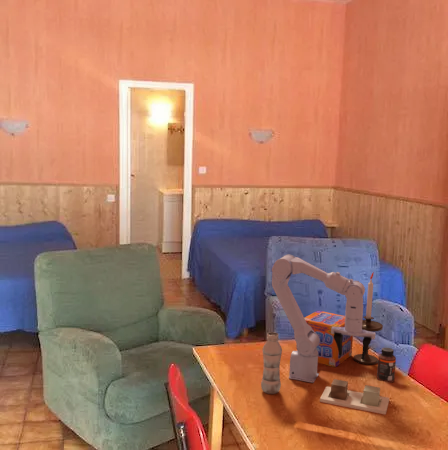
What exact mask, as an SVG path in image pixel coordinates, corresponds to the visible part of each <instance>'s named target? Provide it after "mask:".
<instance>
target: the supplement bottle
mask: <svg viewBox="0 0 448 450" xmlns="http://www.w3.org/2000/svg"><path fill="white" fill-rule="evenodd" d="M377 358H378V363H377V373H376V378H377V380H378V381H380V382H385V383H393V382H394V381H395V378H396V377H395V375H396V363H397V358H396V355H394V349H393V348H391V347H382V348H381V353H379V355H378V357H377Z"/></svg>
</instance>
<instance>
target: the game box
mask: <svg viewBox="0 0 448 450" xmlns="http://www.w3.org/2000/svg"><path fill="white" fill-rule="evenodd" d="M304 318H305V320H306V323H307V324H308V325H309V326H311V328H312V330H313V331H314V332H315V333H316V334H317V335H318V336H319V338H320V343H319V345H318V346H317V347H316V348H317V351H318V364H321V365H326V366H330V367H333V368H336V367H338V366H339V365H341V364H342V363H344V361H346V360H347V359H349V358H350V357H352V355H353V337H354V336H350V335H343V340H342V355H341V356H340V355H339V351H338V347H337V344H336V342H335V339H334V334H331V328H332V327H345V315H341V314H336V313H332V312H327V311H322V310H316V311H314V312H312V313H311V314H309V315H306V316H305V317H304Z"/></svg>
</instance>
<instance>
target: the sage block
mask: <svg viewBox="0 0 448 450" xmlns="http://www.w3.org/2000/svg"><path fill="white" fill-rule="evenodd" d="M362 393H363V404H366V405H371V406H376V407H378V405H379V397H380V396H381V395H380V394H381V387H377V386H373V385H367V384H366V385H364V389H363V391H362Z"/></svg>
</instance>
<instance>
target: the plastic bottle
mask: <svg viewBox="0 0 448 450" xmlns="http://www.w3.org/2000/svg"><path fill="white" fill-rule="evenodd" d="M282 354H283V349H282V346H281V344H280V342H279V333H278V332H275V331H270V332H267V334H266V342H265V343H264V345H263V347H262V359H263V360H262V361H263V372H262V379H261V382H260V387H261V390H262V392H263V393H265V394H269V395H275V394H278V393H279V391H280V390H281V385H282V383H281V375H280V371H281V370H280V367H281V366H280V365H281V357H282Z"/></svg>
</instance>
